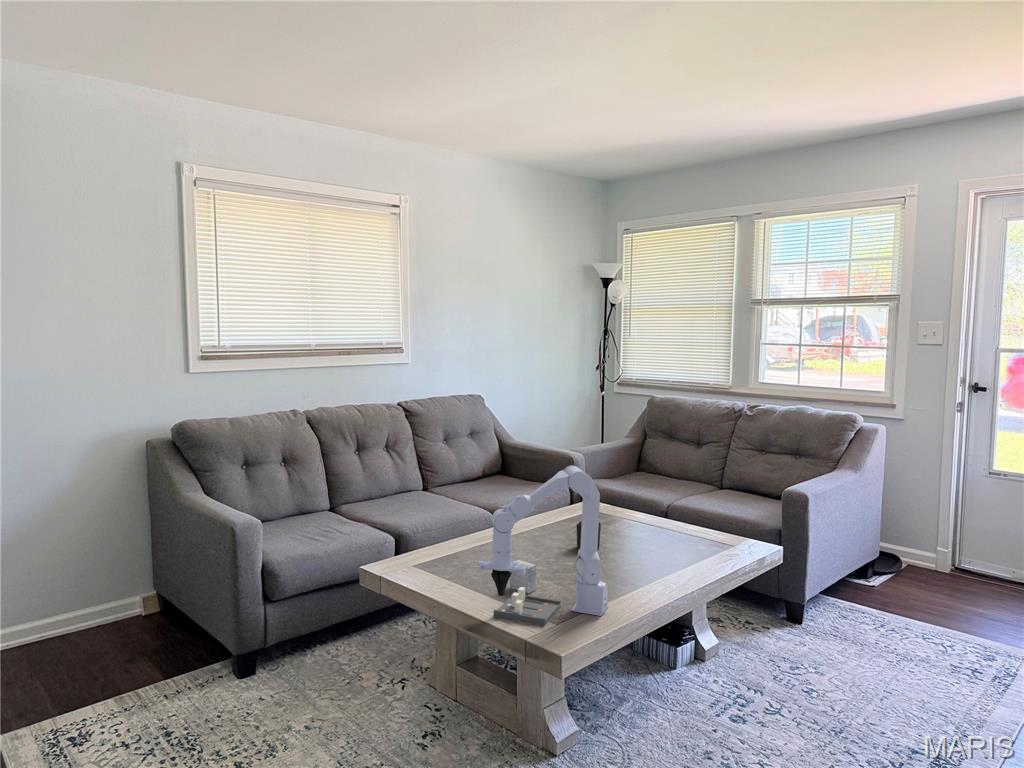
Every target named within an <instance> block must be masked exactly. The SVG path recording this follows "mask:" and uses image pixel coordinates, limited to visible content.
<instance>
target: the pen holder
mask: <svg viewBox="0 0 1024 768" xmlns="http://www.w3.org/2000/svg"><path fill="white" fill-rule="evenodd" d="M581 526H582V520H581V521H579V522H578V523H576V547H577V549H578V550H579V549H580V547H581ZM601 527H602V525H601V522H599V527H598V547H597V551H599V549H600V541H601Z"/></svg>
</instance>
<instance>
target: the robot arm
mask: <svg viewBox="0 0 1024 768" xmlns="http://www.w3.org/2000/svg"><path fill="white" fill-rule="evenodd" d="M570 489H571V491H573V492H575V493H577V494H579V495H580V496H581V497H582V508H581V509H582V511H581V521H582V526H581V547H580V549H578V551H577V557H576V559H575V561H574V563H573V564H574V565H573V566H574V570H575V571H576V572H577V575H576V577H575V583H576V584H575V604H574V606H573V607H572V608H571V612H575V613H580V614H581V613H582V614H587V615H588V614H589V615H594V616H600V617H602V616H603V615H604V613H605V612H606V610H607V609H608V607H609V605H608V598H609V597H608V593H609V591H608V590H609V589H608V588H609V587H608V583H606V582H603V581H601V579H602V578H603V569H602V567H601V559H600V556H599V552H598V551H599V550H597V547H598V527H599V523H600V505H601V504H600V500H601V494H600V491H599V489H598V488H597V485H596V484H595V482H594V480H593V477H591V476H590V475H588V473H586V472H585V471H583V470H581V469H580V468H579V467H578V466H575V465H568V466H566V467H565V468H563V469H562V470H559V471H558V472H557V473H556V474H555V475H554V476H552V477H551V478H550V479H548V480H547V481H546V482H544V483H543V484H541V486H539V487H538V488H537V489H535V490H534V491H532V492H531V493H530V494H522V495H519V494H518V495H516V496H515V499H514V500H513V501H511V502H510V503H509V504H507V505H503V506H502V508H499V509H495V511H494V512H493V514H491V515H492V516H491V517H490V520H491V523H492V525H493V527H492V528H493V529H492V546H491V547H492V552H491V554H492V558H491V560H492V561H491V560H490V561H489V560H480V561H478V563H477V569H478V570H490V571H491V573H490V577H491V579H493V582H494V584H495V587H496V591H497V596H500V597H504V595H505V594H506V588H507V586H508V585H507V584H508V582H509V581H510V576H511V574H512V573H518V574H521V575H524V574H525V573H526V567H524V566H520V565H516V564H513V563H512V550H513V549H512V547H513V545H512V543H513V542H512V541H513V539H512V537H513V536H512V530H513V529H514V526H515V524H516V523H518V522H519V521H521V520H522V519H524V518H526V517H527V516H529V514H530V513H532V512H534V511H535V506H536V505H537V504H539V503H541V502H542V501H544V500H545V499H547V498H548V497H550V496H551V495H553V494H555V493H556V492H560V491H561V492H570Z"/></svg>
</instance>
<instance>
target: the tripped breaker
mask: <svg viewBox="0 0 1024 768" xmlns="http://www.w3.org/2000/svg"><path fill="white" fill-rule="evenodd" d="M522 612H523V601H522V600H517V601H516V602H515V613H518V614H521V613H522Z"/></svg>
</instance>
